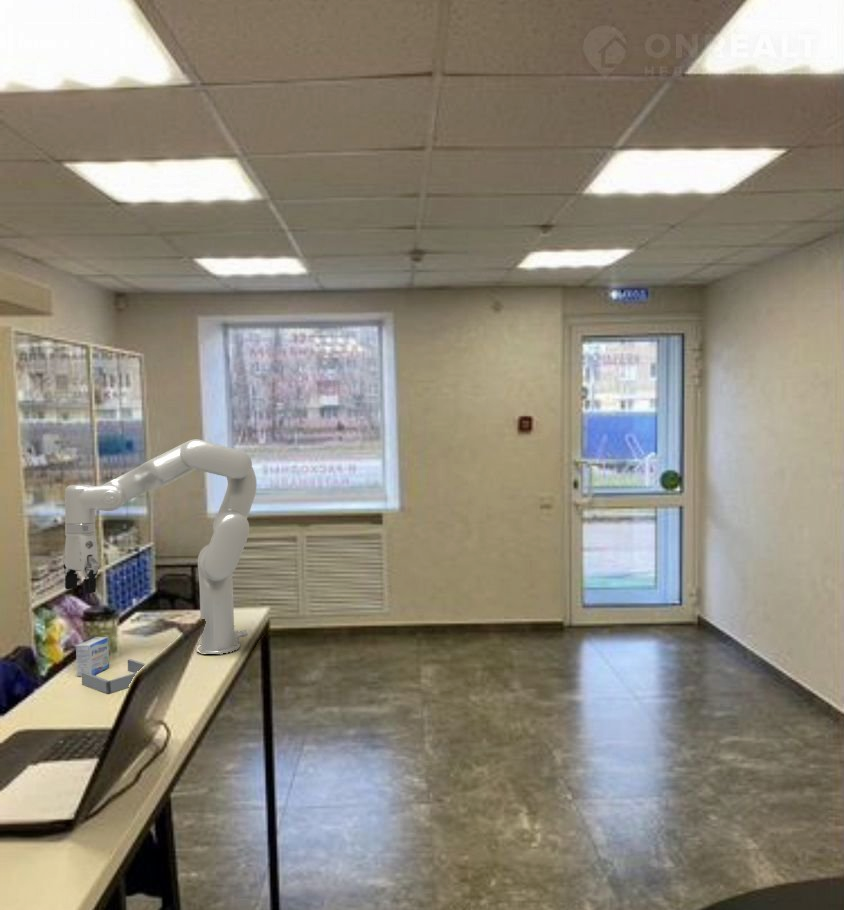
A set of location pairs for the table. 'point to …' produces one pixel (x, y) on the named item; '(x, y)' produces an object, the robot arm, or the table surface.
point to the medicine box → (92, 656)
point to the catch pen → (113, 684)
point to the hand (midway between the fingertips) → (80, 590)
